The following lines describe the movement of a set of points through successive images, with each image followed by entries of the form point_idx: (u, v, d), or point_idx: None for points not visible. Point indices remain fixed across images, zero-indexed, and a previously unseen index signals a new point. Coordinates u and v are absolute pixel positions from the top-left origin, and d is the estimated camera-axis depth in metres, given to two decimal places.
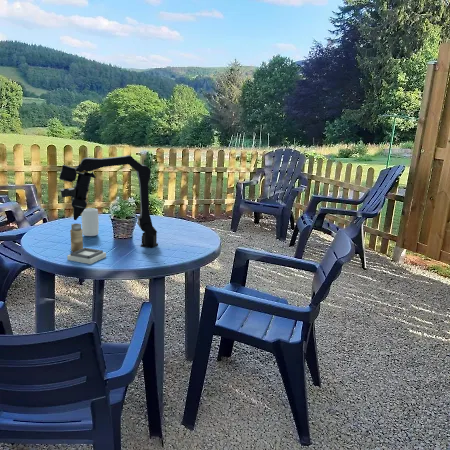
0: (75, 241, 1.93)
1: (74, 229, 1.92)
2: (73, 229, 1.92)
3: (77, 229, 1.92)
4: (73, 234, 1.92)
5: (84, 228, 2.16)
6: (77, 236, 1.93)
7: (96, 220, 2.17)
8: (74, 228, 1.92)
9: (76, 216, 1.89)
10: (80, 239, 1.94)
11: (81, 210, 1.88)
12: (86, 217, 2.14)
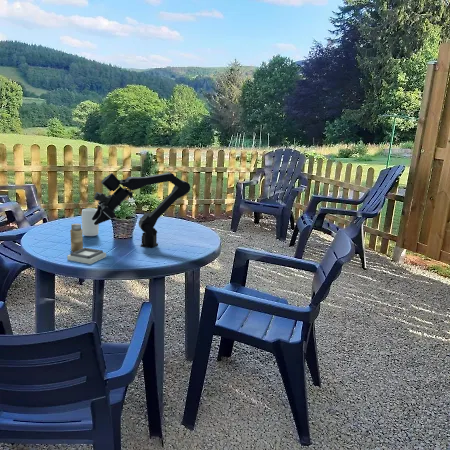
0: (75, 241, 1.93)
1: (74, 229, 1.92)
2: (73, 229, 1.92)
3: (77, 229, 1.92)
4: (73, 234, 1.92)
5: (84, 228, 2.16)
6: (77, 236, 1.93)
7: None
8: (74, 228, 1.92)
9: (98, 222, 1.92)
10: (80, 239, 1.94)
11: (106, 219, 1.92)
12: (86, 217, 2.14)
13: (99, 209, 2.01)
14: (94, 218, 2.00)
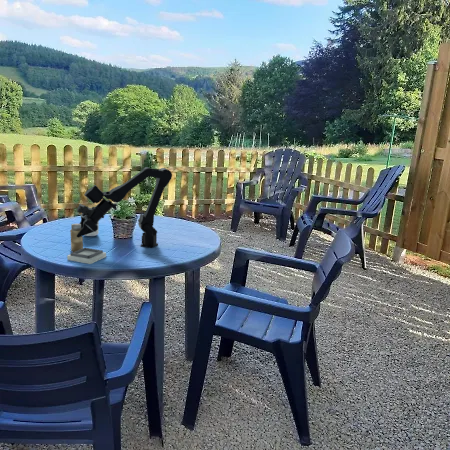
0: (75, 241, 1.93)
1: (74, 229, 1.92)
2: (73, 229, 1.92)
3: (77, 229, 1.92)
4: (73, 234, 1.92)
5: None
6: None
7: None
8: (74, 228, 1.92)
9: (80, 234, 1.90)
10: (80, 239, 1.94)
11: (88, 231, 1.90)
12: None
13: (82, 221, 1.99)
14: None
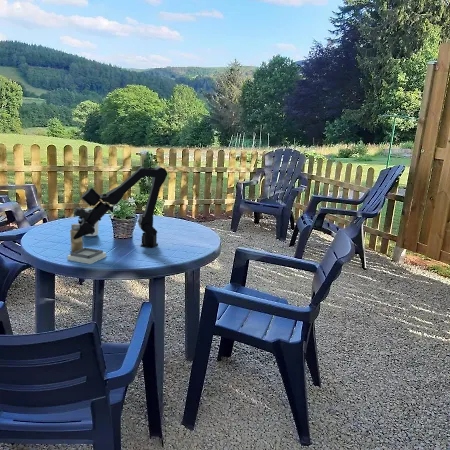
0: (75, 241, 1.93)
1: (74, 229, 1.92)
2: (73, 229, 1.92)
3: (77, 229, 1.92)
4: (73, 234, 1.92)
5: None
6: None
7: None
8: (74, 228, 1.92)
9: (77, 236, 1.92)
10: (80, 239, 1.94)
11: (85, 233, 1.92)
12: None
13: None
14: None
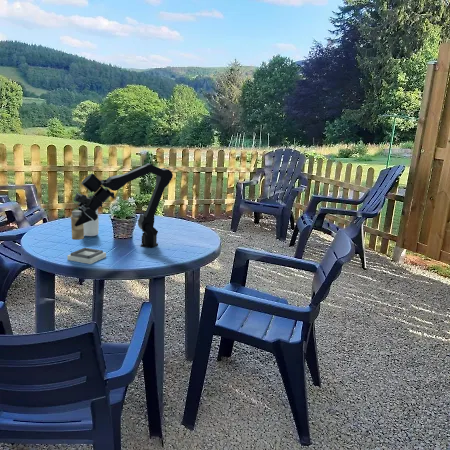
0: (76, 228, 1.89)
1: (75, 216, 1.88)
2: (74, 216, 1.88)
3: (78, 216, 1.88)
4: (74, 221, 1.88)
5: (84, 228, 2.16)
6: None
7: (96, 220, 2.17)
8: (75, 215, 1.88)
9: (79, 223, 1.88)
10: (81, 226, 1.90)
11: (87, 220, 1.88)
12: None
13: None
14: None
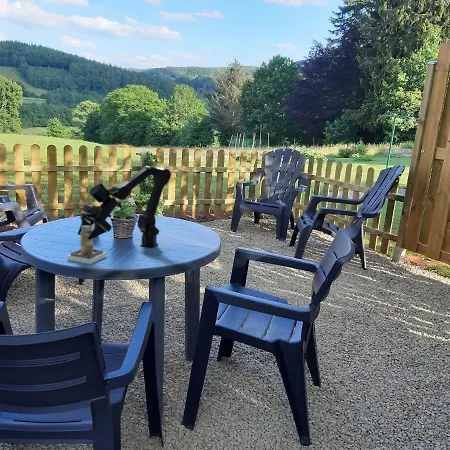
0: (87, 244, 1.83)
1: (86, 231, 1.82)
2: (85, 231, 1.82)
3: (89, 231, 1.83)
4: (85, 237, 1.82)
5: None
6: None
7: None
8: (86, 230, 1.82)
9: (92, 236, 1.80)
10: (92, 241, 1.84)
11: (100, 232, 1.82)
12: None
13: (84, 222, 1.88)
14: None
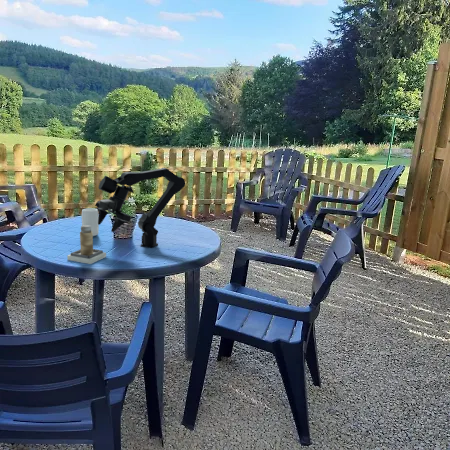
0: (87, 244, 1.83)
1: (86, 231, 1.82)
2: (85, 231, 1.82)
3: (89, 231, 1.83)
4: (85, 237, 1.82)
5: None
6: (90, 239, 1.83)
7: (96, 220, 2.17)
8: (86, 230, 1.82)
9: (115, 228, 1.94)
10: (92, 241, 1.84)
11: (121, 223, 1.95)
12: (86, 217, 2.14)
13: (101, 212, 1.98)
14: (100, 222, 1.99)
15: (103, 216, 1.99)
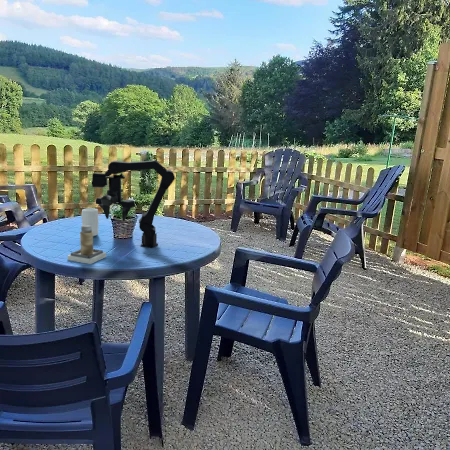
0: (88, 244, 1.83)
1: (86, 231, 1.82)
2: (85, 231, 1.82)
3: (89, 231, 1.83)
4: (85, 236, 1.82)
5: None
6: (90, 239, 1.83)
7: (96, 220, 2.17)
8: (86, 230, 1.82)
9: (125, 217, 2.02)
10: (92, 241, 1.85)
11: (128, 210, 2.02)
12: (86, 217, 2.14)
13: (105, 207, 2.03)
14: (108, 216, 2.05)
15: (107, 209, 2.05)
